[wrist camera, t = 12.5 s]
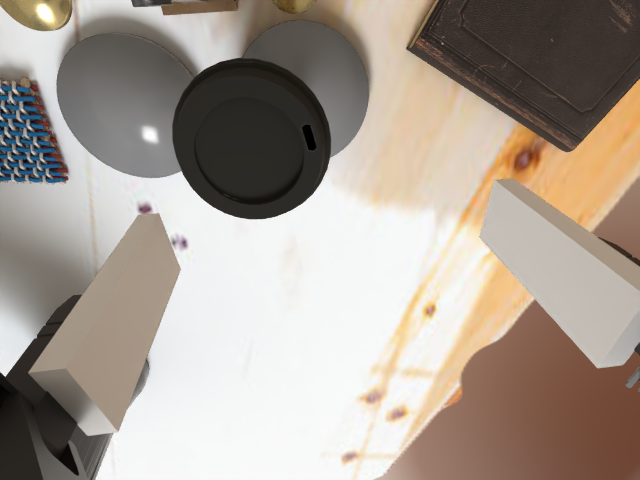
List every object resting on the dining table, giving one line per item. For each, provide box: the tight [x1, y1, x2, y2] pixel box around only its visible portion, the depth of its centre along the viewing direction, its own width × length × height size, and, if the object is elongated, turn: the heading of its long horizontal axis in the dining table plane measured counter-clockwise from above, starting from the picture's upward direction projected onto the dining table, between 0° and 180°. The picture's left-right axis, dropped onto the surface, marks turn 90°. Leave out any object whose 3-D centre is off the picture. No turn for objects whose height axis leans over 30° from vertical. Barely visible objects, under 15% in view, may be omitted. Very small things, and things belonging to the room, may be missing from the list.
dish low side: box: [243, 20, 369, 158], centre depth 33 cm, size 13×13×1 cm
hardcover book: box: [406, 0, 640, 152], centre depth 31 cm, size 16×23×2 cm
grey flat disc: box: [57, 33, 194, 178], centre depth 32 cm, size 13×13×1 cm
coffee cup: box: [172, 58, 331, 219], centre depth 26 cm, size 10×10×15 cm
